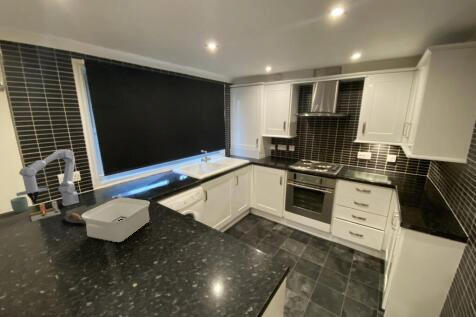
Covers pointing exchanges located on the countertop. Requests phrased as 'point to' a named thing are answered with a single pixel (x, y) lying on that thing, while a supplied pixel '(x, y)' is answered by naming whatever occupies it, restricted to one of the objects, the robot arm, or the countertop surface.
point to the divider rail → (54, 205)
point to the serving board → (77, 215)
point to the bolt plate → (48, 214)
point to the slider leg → (42, 208)
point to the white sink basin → (116, 219)
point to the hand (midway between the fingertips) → (34, 202)
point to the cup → (19, 204)
